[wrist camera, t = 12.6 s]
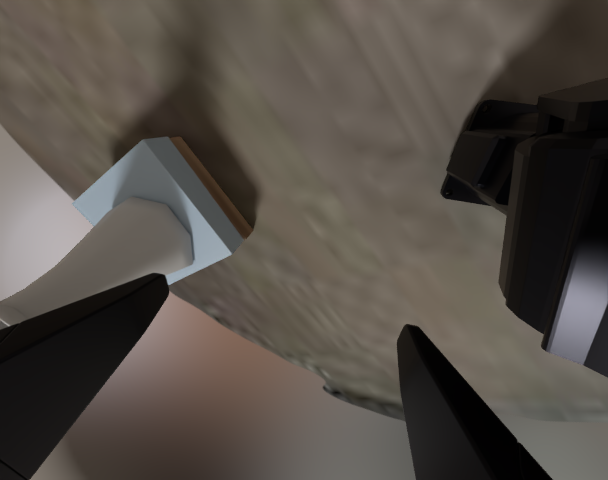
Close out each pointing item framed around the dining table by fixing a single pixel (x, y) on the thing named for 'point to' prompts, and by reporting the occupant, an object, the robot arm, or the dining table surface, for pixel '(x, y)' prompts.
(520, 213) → the robot arm
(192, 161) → the walnut block
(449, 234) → the dining table surface
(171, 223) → the flask
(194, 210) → the pale blue square slab
